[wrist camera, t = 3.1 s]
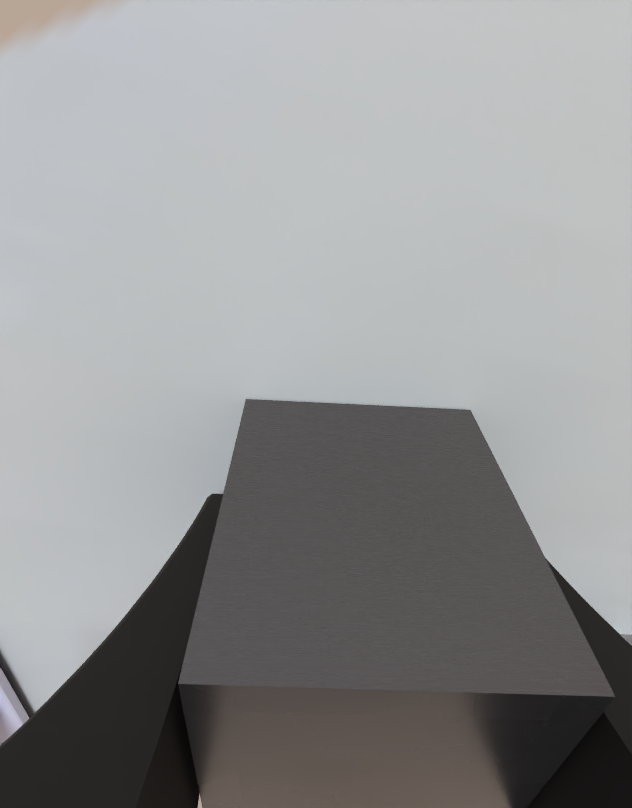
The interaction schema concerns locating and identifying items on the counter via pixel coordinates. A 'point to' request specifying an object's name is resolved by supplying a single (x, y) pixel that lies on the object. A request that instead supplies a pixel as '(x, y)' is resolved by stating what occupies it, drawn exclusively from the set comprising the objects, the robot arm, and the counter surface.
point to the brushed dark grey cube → (378, 622)
